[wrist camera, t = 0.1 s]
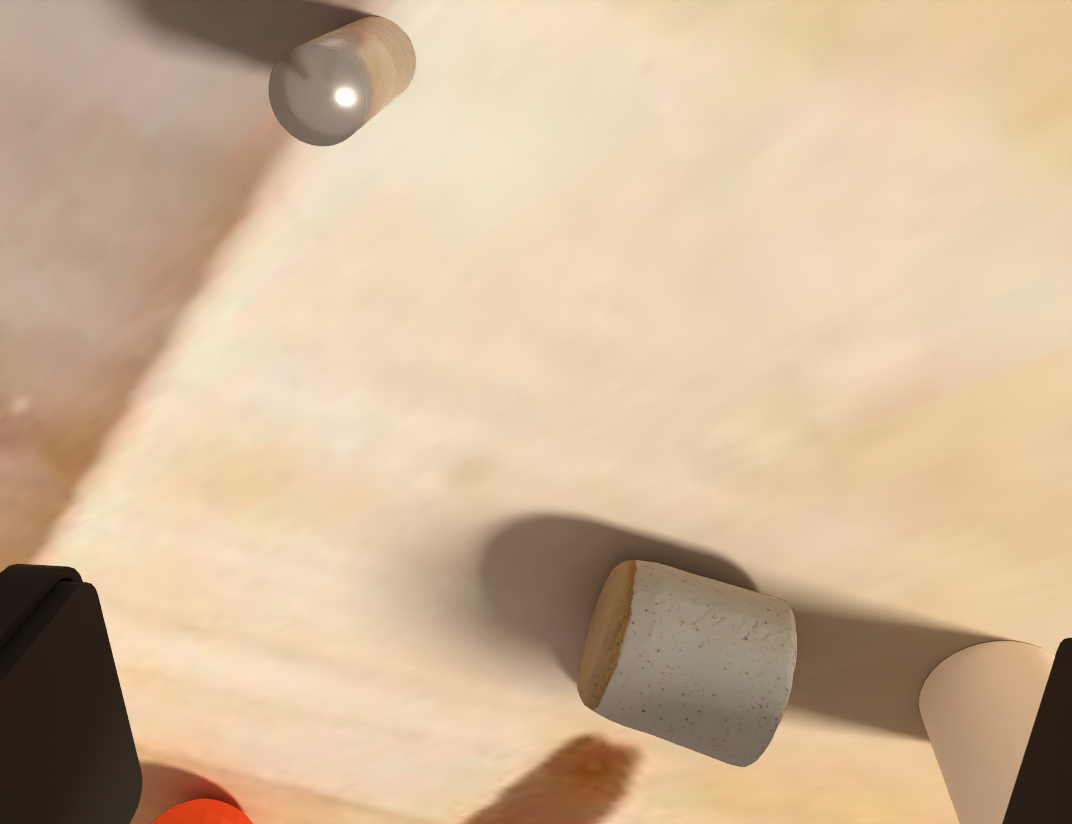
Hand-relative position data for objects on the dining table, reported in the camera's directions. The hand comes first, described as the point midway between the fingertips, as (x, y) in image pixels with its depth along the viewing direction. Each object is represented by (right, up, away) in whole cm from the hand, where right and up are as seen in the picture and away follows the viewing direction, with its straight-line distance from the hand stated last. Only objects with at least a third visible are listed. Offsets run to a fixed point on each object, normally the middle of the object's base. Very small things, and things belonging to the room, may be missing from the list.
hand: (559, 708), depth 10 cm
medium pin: (-6, +16, +27) cm, 32 cm away
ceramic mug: (+7, -7, +39) cm, 40 cm away
